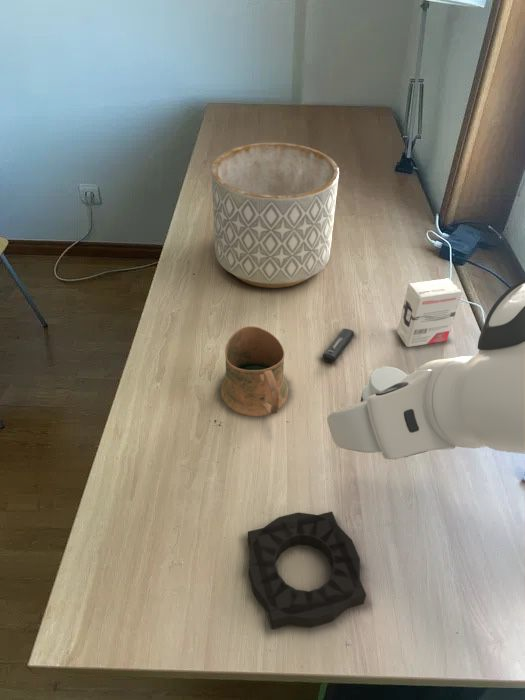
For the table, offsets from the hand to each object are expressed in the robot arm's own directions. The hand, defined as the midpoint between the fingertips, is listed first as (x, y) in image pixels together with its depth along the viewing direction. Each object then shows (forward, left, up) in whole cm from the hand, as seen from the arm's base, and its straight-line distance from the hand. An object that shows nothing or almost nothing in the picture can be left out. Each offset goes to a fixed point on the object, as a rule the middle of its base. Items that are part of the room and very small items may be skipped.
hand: (380, 402), depth 70 cm
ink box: (+30, -25, -20) cm, 43 cm away
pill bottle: (-1, 0, -6) cm, 6 cm away
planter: (+62, -4, -20) cm, 65 cm away
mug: (+21, +10, -20) cm, 30 cm away
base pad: (-9, +12, -19) cm, 25 cm away
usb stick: (+30, -8, -20) cm, 37 cm away
